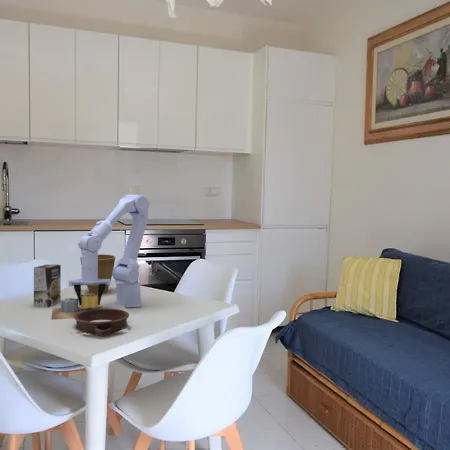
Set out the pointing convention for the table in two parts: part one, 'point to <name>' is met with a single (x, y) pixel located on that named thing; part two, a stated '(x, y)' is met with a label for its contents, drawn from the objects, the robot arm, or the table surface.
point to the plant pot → (103, 271)
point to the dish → (101, 327)
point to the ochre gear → (89, 300)
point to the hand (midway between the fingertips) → (89, 304)
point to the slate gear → (69, 305)
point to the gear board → (62, 315)
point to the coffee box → (47, 285)
